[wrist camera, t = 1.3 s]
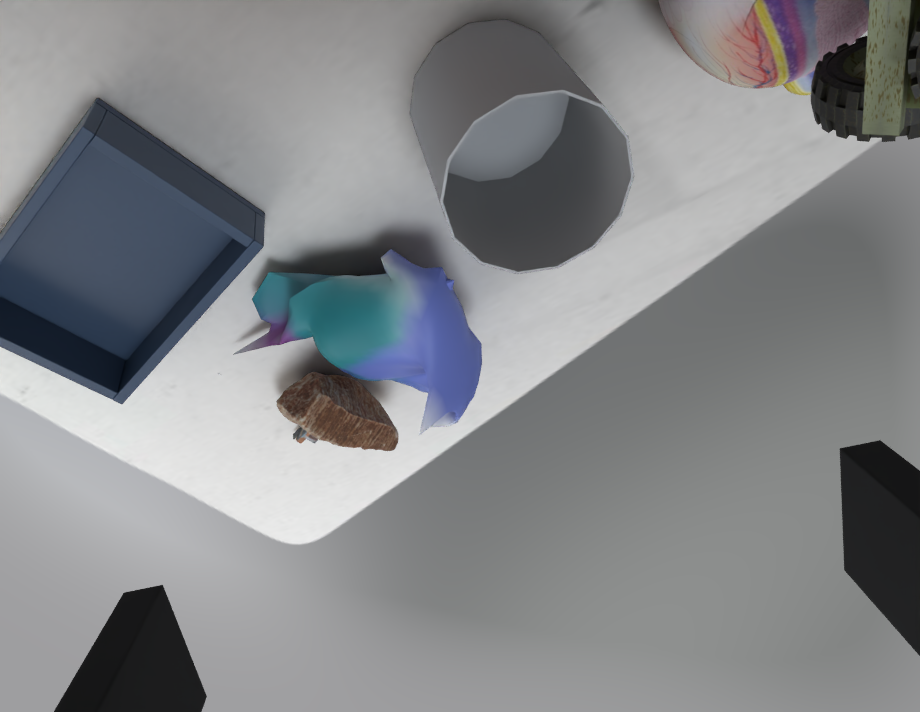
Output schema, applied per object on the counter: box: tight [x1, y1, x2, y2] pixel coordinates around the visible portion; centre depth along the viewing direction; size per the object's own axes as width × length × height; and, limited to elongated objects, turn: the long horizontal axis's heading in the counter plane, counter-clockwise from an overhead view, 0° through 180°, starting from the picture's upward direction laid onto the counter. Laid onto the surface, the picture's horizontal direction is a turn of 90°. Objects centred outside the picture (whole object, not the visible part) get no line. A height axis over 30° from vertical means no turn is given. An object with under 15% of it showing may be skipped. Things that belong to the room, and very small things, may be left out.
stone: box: [277, 372, 398, 451], centre depth 48 cm, size 7×6×5 cm
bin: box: [0, 98, 265, 404], centre depth 40 cm, size 10×13×4 cm
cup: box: [410, 19, 634, 274], centre depth 36 cm, size 8×8×10 cm
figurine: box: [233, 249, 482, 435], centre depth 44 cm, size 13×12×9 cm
